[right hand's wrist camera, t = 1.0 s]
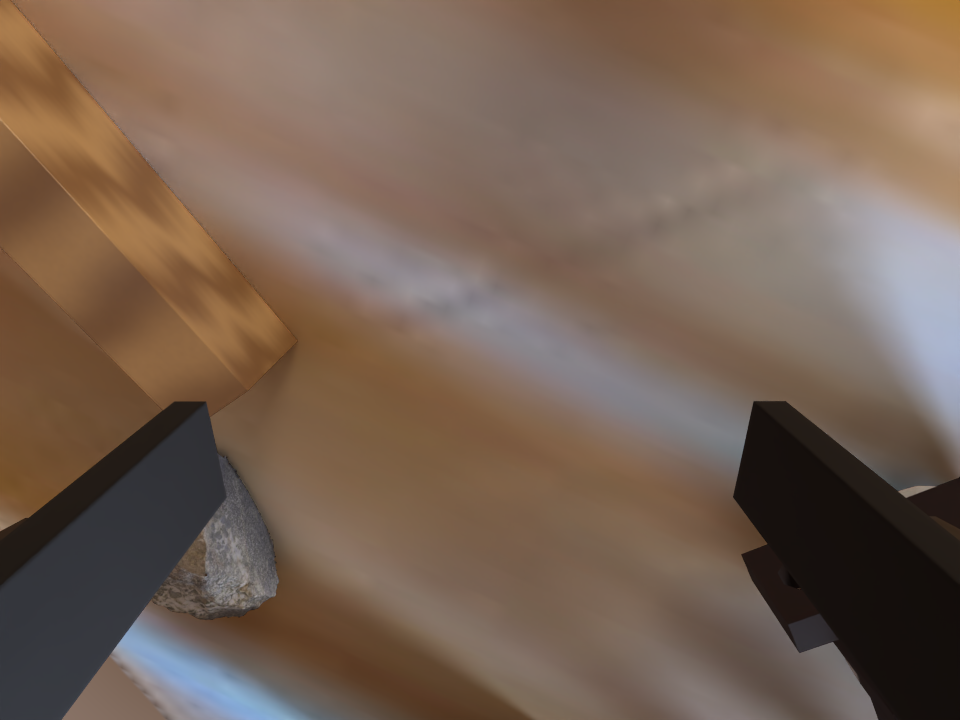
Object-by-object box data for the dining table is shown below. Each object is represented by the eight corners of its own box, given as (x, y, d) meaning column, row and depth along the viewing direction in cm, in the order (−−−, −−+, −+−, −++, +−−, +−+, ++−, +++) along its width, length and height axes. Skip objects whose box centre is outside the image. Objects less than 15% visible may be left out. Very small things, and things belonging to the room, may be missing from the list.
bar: (298, 340, 34) (248, 390, 27) (247, 376, 35) (185, 433, 28) (-8, -22, 27) (-190, -90, 20) (-62, 35, 28) (-256, -10, 20)
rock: (300, 577, 41) (266, 650, 35) (203, 603, 42) (155, 678, 36) (216, 434, 36) (161, 489, 30) (111, 467, 37) (37, 526, 31)
